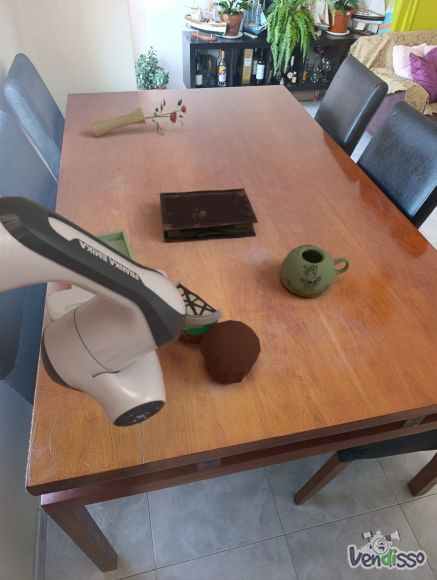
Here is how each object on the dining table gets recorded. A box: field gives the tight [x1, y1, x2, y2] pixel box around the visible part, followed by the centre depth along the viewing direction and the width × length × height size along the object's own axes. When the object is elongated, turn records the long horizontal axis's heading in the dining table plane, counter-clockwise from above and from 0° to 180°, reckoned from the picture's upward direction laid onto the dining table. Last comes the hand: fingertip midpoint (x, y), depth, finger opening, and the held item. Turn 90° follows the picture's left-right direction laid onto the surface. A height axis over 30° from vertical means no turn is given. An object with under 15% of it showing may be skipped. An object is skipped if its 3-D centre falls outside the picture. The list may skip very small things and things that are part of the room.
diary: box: [159, 187, 259, 242], centre depth 105 cm, size 19×25×5 cm
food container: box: [174, 279, 223, 344], centre depth 76 cm, size 12×6×10 cm, turn 47°
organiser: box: [93, 228, 136, 262], centre depth 88 cm, size 14×26×3 cm, turn 21°
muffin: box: [200, 319, 262, 386], centre depth 71 cm, size 12×11×10 cm
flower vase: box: [90, 98, 187, 138], centre depth 140 cm, size 12×12×35 cm
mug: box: [280, 244, 350, 298], centre depth 88 cm, size 16×13×9 cm
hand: (104, 269), depth 68 cm, fingers closed on robot figurine, 7 cm apart
